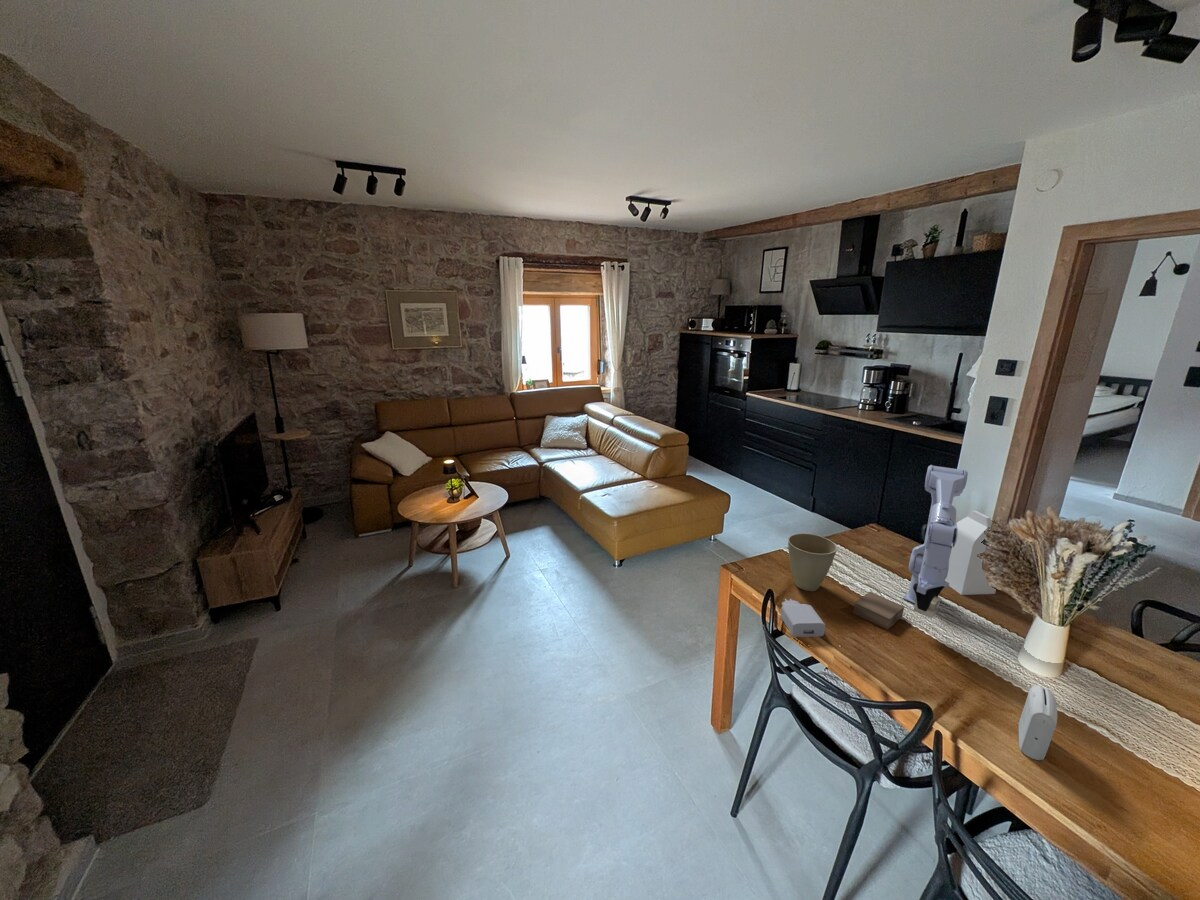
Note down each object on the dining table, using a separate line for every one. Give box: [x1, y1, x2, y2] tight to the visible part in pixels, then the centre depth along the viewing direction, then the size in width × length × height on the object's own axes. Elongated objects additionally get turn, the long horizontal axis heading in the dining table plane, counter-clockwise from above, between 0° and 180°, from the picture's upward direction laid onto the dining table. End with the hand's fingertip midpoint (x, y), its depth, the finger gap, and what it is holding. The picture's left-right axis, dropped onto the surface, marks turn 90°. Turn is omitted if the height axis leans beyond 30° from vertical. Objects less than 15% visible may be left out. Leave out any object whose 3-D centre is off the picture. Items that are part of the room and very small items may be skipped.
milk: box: [945, 509, 997, 596], centre depth 154 cm, size 12×12×26 cm
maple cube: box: [913, 596, 941, 619], centre depth 132 cm, size 4×4×4 cm
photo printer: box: [1018, 684, 1058, 761], centre depth 98 cm, size 10×4×12 cm, turn 140°
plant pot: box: [787, 532, 838, 592], centre depth 155 cm, size 15×15×16 cm
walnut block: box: [852, 591, 905, 630], centre depth 141 cm, size 10×10×4 cm
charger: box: [780, 598, 826, 638], centre depth 139 cm, size 5×9×15 cm
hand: (925, 606), depth 132 cm, fingers closed on maple cube, 4 cm apart
